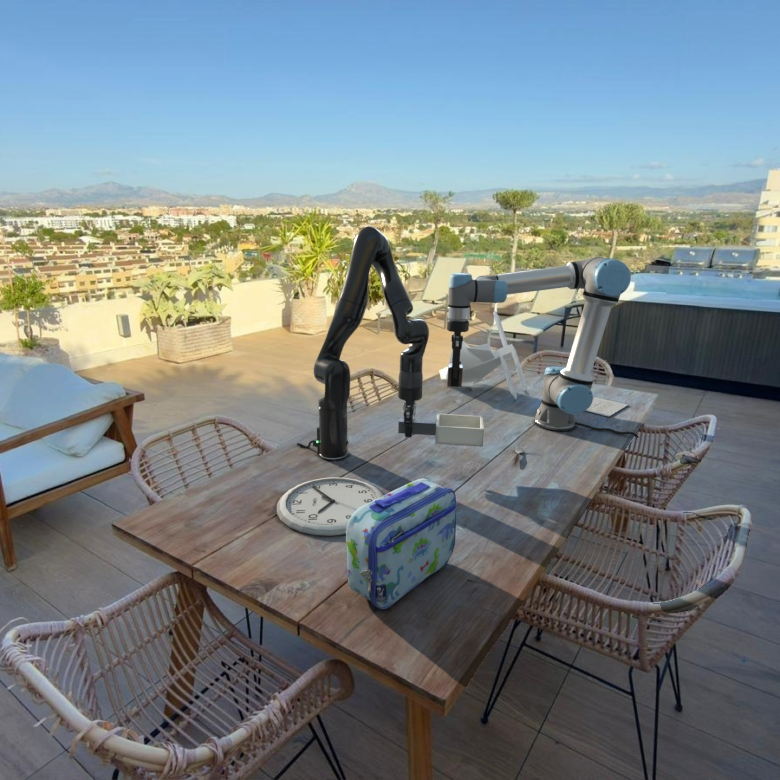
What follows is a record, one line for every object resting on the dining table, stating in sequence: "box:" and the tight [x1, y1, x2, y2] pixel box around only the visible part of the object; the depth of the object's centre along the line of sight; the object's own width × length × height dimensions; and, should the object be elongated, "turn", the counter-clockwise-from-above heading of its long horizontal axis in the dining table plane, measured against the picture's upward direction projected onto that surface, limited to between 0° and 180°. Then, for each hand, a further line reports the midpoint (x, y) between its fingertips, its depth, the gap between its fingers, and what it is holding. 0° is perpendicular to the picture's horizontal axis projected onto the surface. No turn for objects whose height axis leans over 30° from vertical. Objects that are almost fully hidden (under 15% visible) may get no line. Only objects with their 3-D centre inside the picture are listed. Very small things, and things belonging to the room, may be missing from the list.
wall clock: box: [276, 476, 385, 537], centre depth 142 cm, size 30×2×30 cm
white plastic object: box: [438, 310, 531, 400], centre depth 245 cm, size 37×45×31 cm
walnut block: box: [446, 363, 463, 388], centre depth 186 cm, size 5×5×7 cm
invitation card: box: [585, 396, 629, 418], centre depth 226 cm, size 21×1×15 cm
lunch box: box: [345, 477, 457, 610], centre depth 110 cm, size 26×11×21 cm, turn 134°
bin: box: [397, 413, 485, 448], centre depth 167 cm, size 27×12×6 cm, turn 83°
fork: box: [514, 442, 525, 466], centre depth 175 cm, size 3×16×2 cm, turn 160°
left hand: (408, 434), depth 168 cm, fingers closed on bin, 3 cm apart
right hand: (454, 384), depth 187 cm, fingers closed on walnut block, 5 cm apart
